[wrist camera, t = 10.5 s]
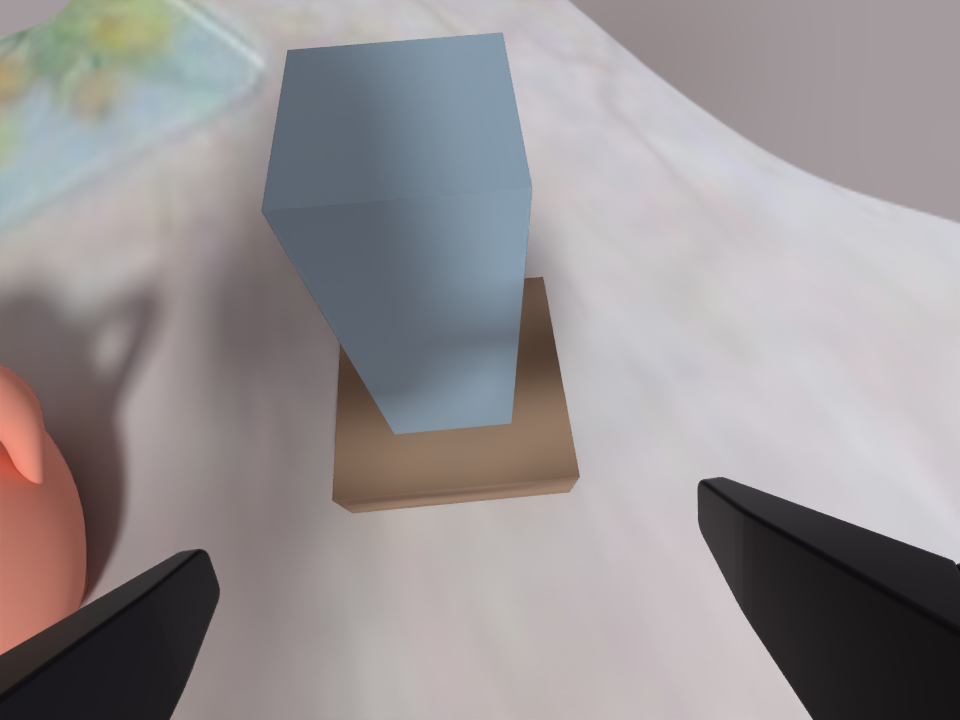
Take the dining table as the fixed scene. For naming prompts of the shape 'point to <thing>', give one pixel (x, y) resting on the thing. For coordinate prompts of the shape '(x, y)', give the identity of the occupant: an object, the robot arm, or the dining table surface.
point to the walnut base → (461, 437)
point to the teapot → (35, 521)
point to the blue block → (409, 218)
